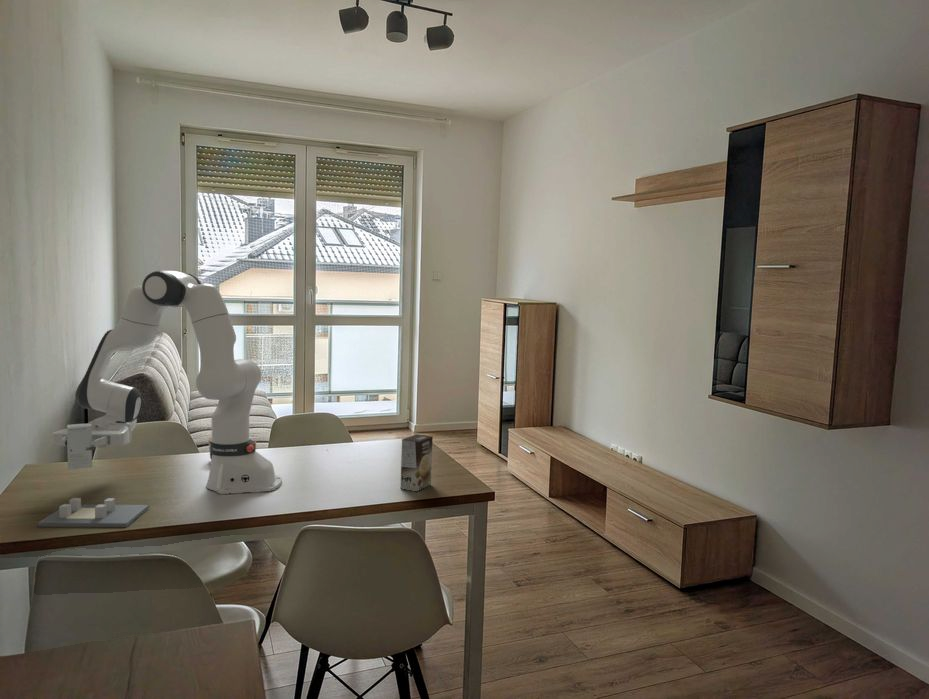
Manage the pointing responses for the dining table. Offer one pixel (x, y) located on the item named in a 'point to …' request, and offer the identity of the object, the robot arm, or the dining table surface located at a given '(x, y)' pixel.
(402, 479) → the coffee box
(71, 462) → the skincare box
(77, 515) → the board
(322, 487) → the dining table surface
